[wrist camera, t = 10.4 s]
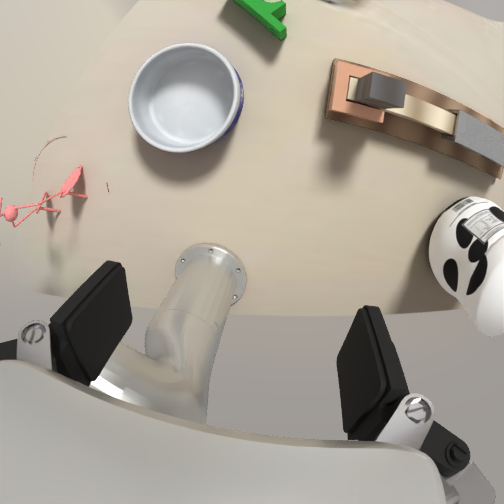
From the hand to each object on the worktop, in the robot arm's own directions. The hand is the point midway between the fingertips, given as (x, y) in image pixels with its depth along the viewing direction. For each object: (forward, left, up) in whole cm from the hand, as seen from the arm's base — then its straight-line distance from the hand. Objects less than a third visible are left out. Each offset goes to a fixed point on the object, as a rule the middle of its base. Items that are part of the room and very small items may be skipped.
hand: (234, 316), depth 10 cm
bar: (+13, -18, -31) cm, 38 cm away
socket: (+13, -10, -31) cm, 35 cm away
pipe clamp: (+24, +4, -33) cm, 41 cm away
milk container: (-4, -35, -33) cm, 48 cm away
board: (+13, -23, -32) cm, 42 cm away
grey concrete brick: (+13, -31, -31) cm, 46 cm away
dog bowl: (+9, +13, -33) cm, 36 cm away
